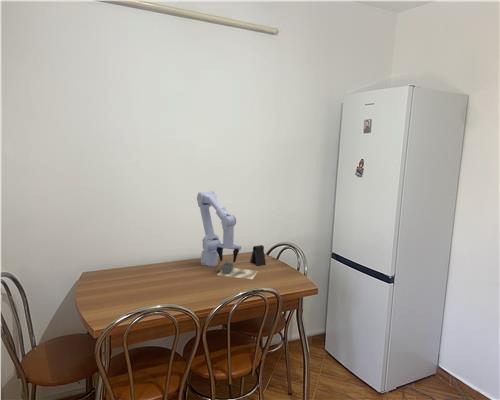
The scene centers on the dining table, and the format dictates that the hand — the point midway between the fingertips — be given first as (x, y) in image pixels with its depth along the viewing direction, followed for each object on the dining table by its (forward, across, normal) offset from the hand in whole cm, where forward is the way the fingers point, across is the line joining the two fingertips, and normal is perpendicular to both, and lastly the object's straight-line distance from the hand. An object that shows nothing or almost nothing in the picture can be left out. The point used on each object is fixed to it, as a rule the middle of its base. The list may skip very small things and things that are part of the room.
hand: (227, 261), depth 203 cm
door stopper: (+7, +13, +20) cm, 25 cm away
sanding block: (+6, 0, 0) cm, 6 cm away
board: (+7, +6, 0) cm, 9 cm away
